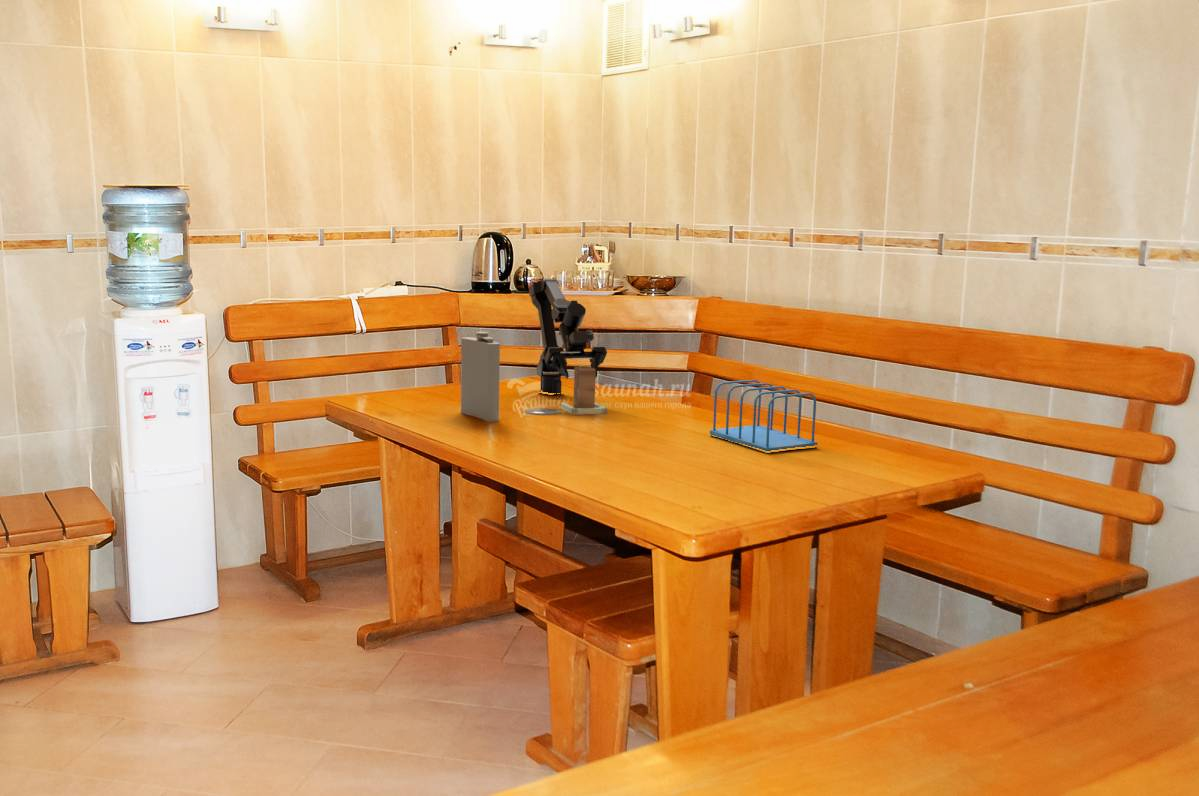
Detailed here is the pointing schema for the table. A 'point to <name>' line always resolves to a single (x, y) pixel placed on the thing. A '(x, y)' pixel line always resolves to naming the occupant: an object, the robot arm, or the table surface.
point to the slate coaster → (542, 411)
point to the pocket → (584, 409)
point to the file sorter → (766, 435)
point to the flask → (480, 377)
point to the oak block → (584, 387)
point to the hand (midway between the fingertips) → (582, 377)
